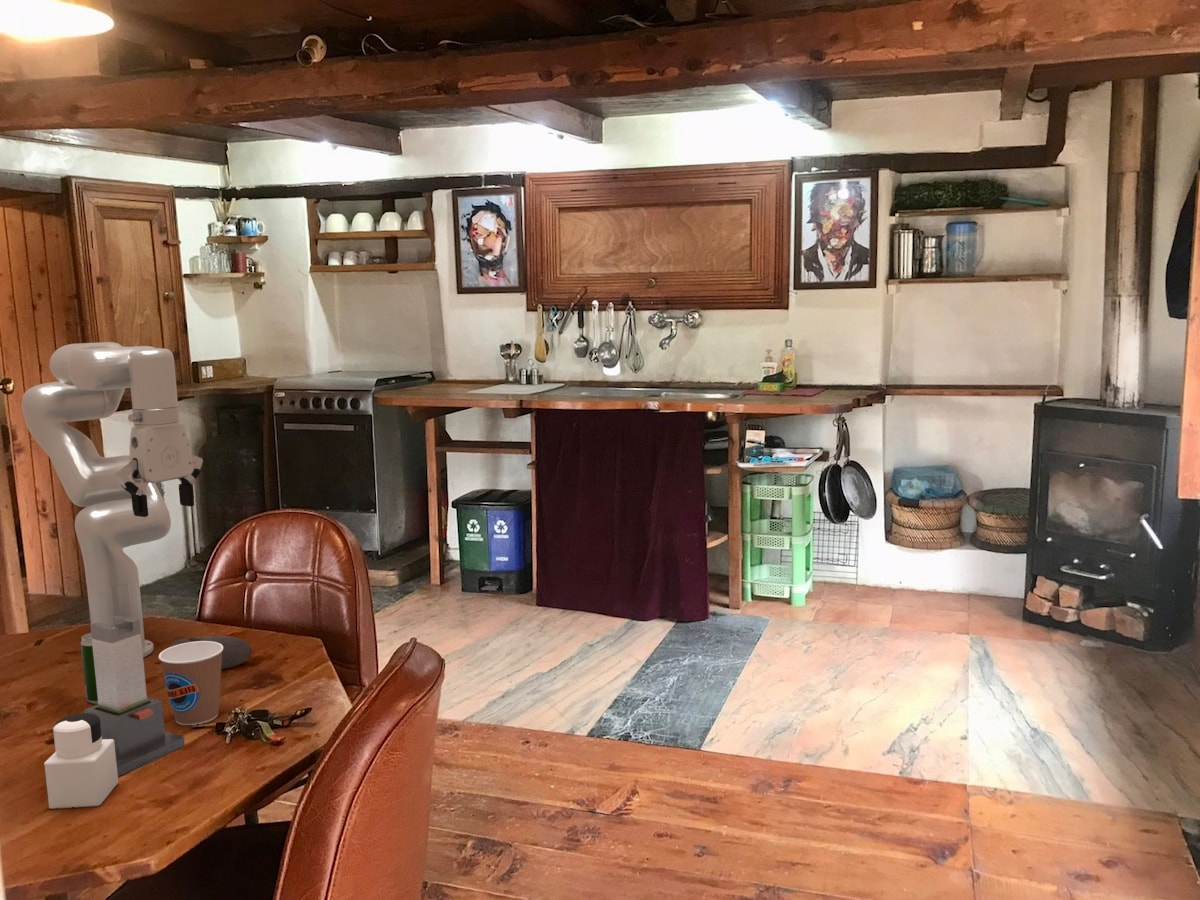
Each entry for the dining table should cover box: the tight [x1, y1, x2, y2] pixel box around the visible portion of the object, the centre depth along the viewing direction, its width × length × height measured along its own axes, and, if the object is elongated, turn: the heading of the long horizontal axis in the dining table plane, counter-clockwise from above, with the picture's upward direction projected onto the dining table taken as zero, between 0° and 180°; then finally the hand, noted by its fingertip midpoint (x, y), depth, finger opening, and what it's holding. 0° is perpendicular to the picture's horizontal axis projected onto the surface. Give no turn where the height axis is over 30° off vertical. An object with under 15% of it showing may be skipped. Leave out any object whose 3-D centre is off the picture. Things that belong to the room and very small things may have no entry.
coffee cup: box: [158, 641, 223, 727], centre depth 173 cm, size 10×10×12 cm
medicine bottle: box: [43, 712, 119, 810], centre depth 146 cm, size 7×7×12 cm
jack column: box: [89, 616, 148, 716], centre depth 159 cm, size 5×5×15 cm
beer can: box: [80, 632, 98, 705], centre depth 182 cm, size 5×5×12 cm
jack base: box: [83, 696, 186, 778], centre depth 160 cm, size 12×12×8 cm
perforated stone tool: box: [170, 635, 253, 670], centre depth 196 cm, size 15×5×7 cm, turn 112°
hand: (164, 510), depth 184 cm, fingers open, 9 cm apart
